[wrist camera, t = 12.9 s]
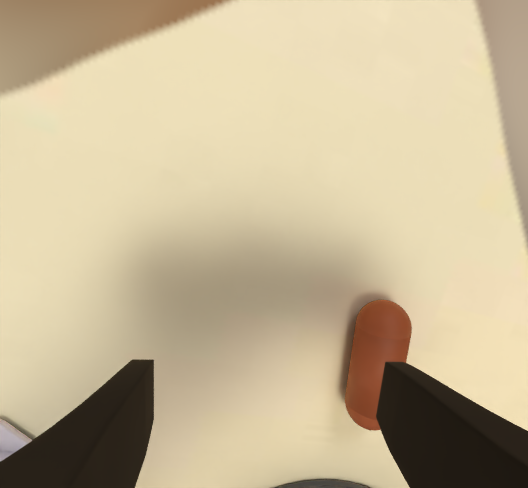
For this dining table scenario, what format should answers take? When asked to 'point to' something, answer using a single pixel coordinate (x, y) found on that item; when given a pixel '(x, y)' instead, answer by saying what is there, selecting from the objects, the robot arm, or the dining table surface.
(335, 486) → the bowl
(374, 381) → the sausage
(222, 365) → the dining table surface
